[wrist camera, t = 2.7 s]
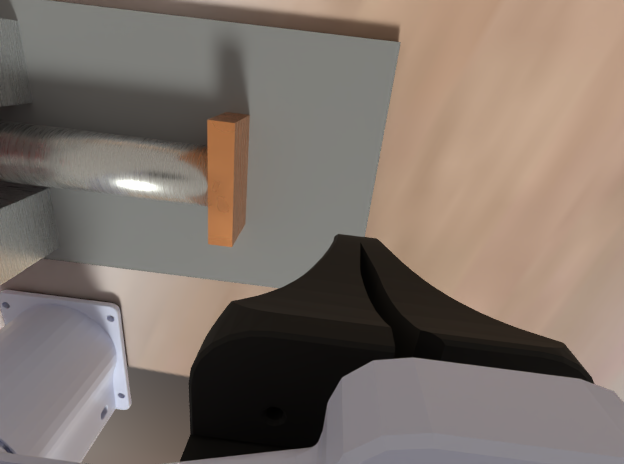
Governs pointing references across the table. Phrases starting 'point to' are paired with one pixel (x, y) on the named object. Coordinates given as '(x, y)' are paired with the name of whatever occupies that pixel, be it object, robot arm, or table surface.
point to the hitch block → (14, 197)
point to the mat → (193, 129)
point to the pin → (139, 167)
